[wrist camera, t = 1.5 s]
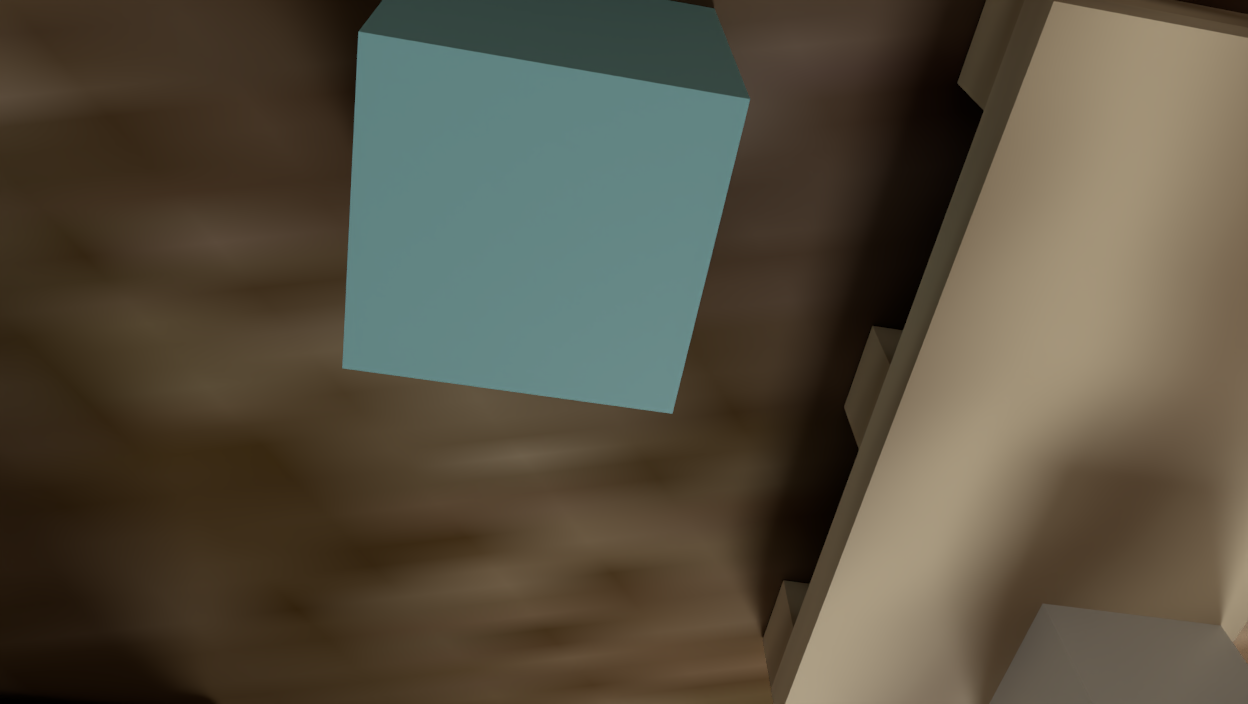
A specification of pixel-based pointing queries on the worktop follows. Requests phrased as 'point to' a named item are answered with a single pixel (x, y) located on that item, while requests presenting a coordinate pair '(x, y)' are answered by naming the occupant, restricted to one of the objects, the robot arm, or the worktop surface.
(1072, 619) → the gray cube
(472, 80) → the teal cube box
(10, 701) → the robot arm
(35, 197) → the worktop surface
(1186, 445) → the pallet dock
